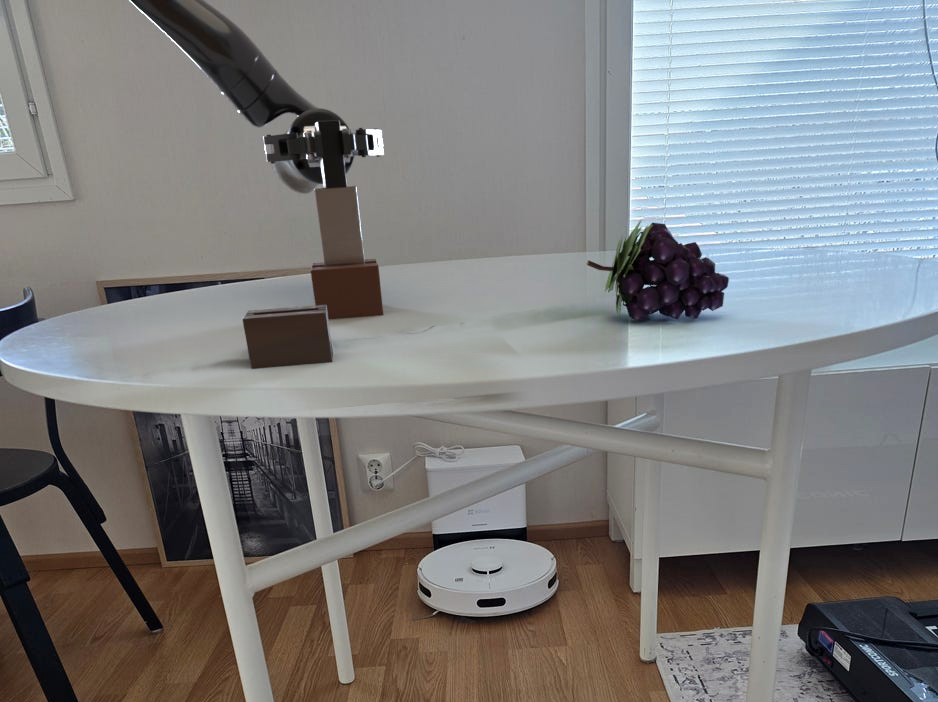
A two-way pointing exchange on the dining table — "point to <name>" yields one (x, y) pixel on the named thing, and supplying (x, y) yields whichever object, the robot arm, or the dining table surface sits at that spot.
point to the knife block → (288, 336)
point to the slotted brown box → (348, 289)
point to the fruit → (663, 276)
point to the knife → (337, 203)
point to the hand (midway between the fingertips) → (332, 143)
